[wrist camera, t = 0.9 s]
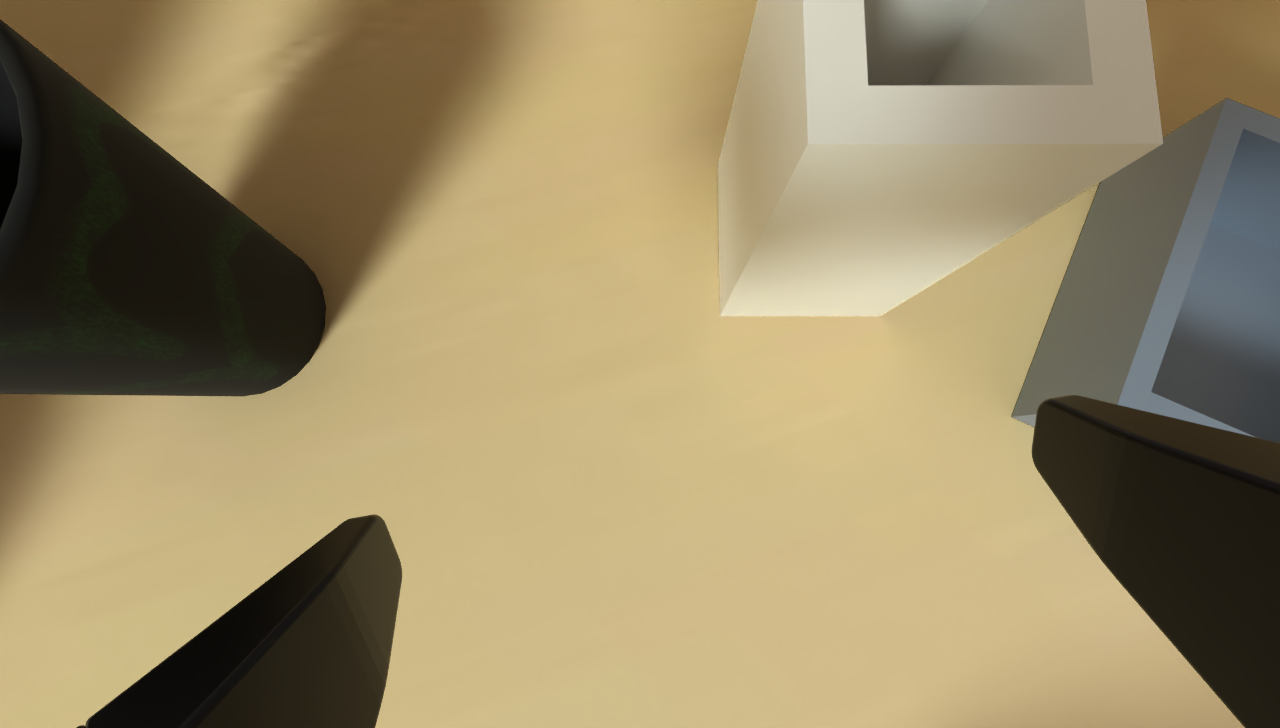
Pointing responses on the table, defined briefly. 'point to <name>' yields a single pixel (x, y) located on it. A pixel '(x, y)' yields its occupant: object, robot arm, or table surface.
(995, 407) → the table surface
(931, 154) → the white square vase
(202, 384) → the cup
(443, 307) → the table surface
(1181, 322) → the low crate
